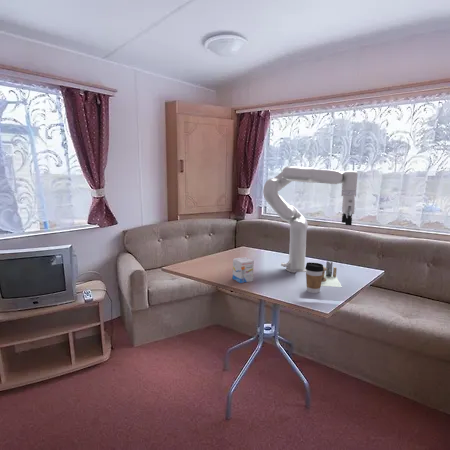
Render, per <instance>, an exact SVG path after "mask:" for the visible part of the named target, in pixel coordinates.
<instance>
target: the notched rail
mask: <svg viewBox="0 0 450 450" xmlns="http://www.w3.org/2000/svg"><path fill="white" fill-rule="evenodd" d="M337 270H338V269H337V267H336V266H332V275H333V277H337ZM324 275H326V271H324Z"/></svg>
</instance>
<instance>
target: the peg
mask: <svg viewBox="0 0 450 450" xmlns="http://www.w3.org/2000/svg"><path fill="white" fill-rule="evenodd" d="M333 264H334V263H333V261H330V260H327V261H326V266H325V268H327V270H326V271H325V275H326V276H328V277H331V276H332V275H333Z"/></svg>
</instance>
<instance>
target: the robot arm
mask: <svg viewBox="0 0 450 450" xmlns="http://www.w3.org/2000/svg"><path fill="white" fill-rule="evenodd" d="M292 182H298V183H299V182H300V183H310V184H314V183H317V184H327V185H328V184H329V185H338V184H341V197H342V204H341V205H342V206H341V212H342V215H341V223H344V224H345V226H352V224H353V215H354V214H355V202H356V200H355V197H356V195H357V184H358V171H356V170H346V171H342V170H341V171H340V170H338V169H337V170H336V169H335V170H334V169H323V168H315V167H307V166H306V167H305V166H292V165H287V166H285V167H284V168H283V169H282V170H281V172H280V173H279V174H278V175H276V176H274V177H272V178H269V179H268V180H267V181H266V182H265V183H264V185H263V189H262V190H263V191H262V194H263V197H264V200H265V202H267V204H268V205H269V206H270V207H271V208H272V210H273V211H274V212H275V213H276V215H278V216H279V218H280V219H281V220H282V221H284V222H285V221H286V222H287V223H288V224H289V225H290V226H289V250H288V251H289V253H288V254H289V255H288V261H287V262H281V265H280V266H281V267H285V270H286V271H287V272H289V273H292V274H296V272H298V273H300V272H301V273H306V250H307V249H306V248H307V232H308V231H307V230H308V227H309V223H308V220H307V219H306V218H305V217H304V216H303V214H302V213H301V212H300V211H299V210H298V209H297V208H296V207H295V206H294V205H292V204H289V203H288V202H287V201H286V200H285V199H284V198H283V197H282V196H281V195H280V194H279V191H281V190H283V188H285V187H286V186H288V185H290V184H291V183H292Z"/></svg>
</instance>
